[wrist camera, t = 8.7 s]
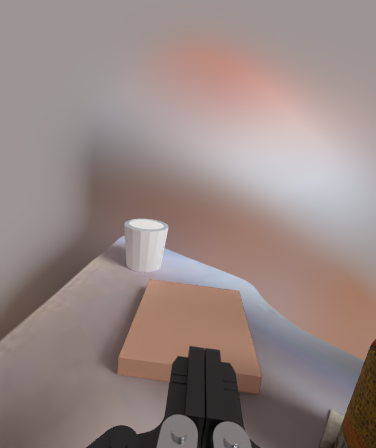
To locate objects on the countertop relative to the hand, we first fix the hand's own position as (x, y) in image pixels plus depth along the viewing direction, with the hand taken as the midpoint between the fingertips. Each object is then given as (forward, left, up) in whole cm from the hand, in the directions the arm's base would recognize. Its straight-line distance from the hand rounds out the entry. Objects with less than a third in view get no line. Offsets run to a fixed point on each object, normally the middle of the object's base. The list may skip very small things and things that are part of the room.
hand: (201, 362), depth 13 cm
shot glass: (+22, -21, -9) cm, 32 cm away
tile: (+4, -6, -8) cm, 11 cm away
